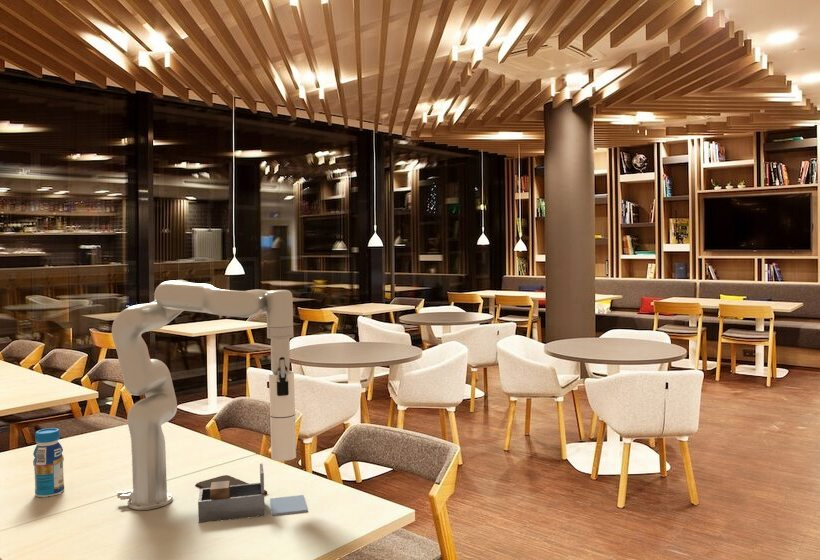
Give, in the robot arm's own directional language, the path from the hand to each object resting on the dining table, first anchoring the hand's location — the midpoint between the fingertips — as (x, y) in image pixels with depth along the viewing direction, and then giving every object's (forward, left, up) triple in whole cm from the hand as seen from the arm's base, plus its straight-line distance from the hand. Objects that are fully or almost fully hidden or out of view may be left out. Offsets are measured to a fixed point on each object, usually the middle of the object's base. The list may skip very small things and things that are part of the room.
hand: (282, 392), depth 192 cm
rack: (-15, 0, -34) cm, 37 cm away
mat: (+1, 0, -34) cm, 34 cm away
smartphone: (-16, +19, -35) cm, 43 cm away
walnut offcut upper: (-18, 0, -30) cm, 35 cm away
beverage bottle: (-71, +33, -34) cm, 85 cm away
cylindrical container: (0, 0, -19) cm, 19 cm away
